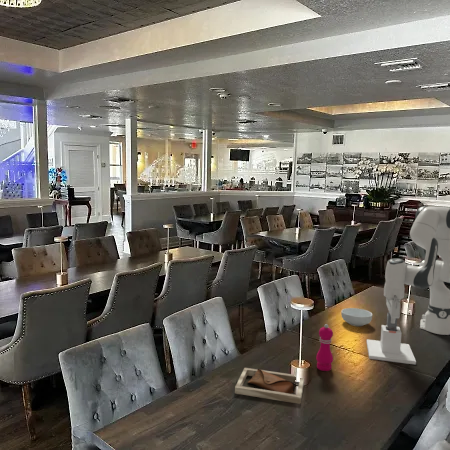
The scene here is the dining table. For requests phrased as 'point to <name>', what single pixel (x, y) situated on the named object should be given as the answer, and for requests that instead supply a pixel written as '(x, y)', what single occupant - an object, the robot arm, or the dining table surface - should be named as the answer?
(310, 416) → the dining table surface
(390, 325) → the jack column
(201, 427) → the dining table surface
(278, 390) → the sunglasses case
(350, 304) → the dining table surface
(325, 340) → the pepper mill
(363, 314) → the cereal bowl
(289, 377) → the birch tray rim
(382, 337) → the stand housing
